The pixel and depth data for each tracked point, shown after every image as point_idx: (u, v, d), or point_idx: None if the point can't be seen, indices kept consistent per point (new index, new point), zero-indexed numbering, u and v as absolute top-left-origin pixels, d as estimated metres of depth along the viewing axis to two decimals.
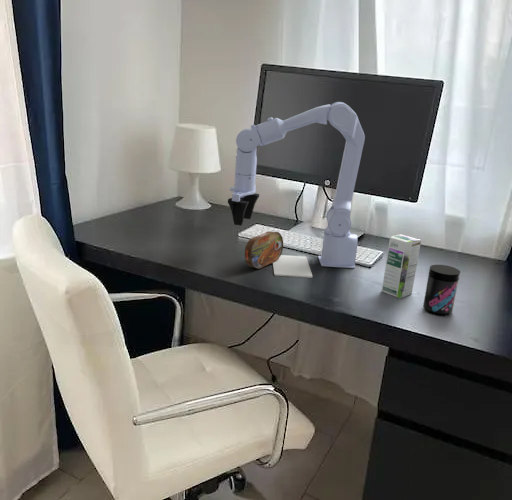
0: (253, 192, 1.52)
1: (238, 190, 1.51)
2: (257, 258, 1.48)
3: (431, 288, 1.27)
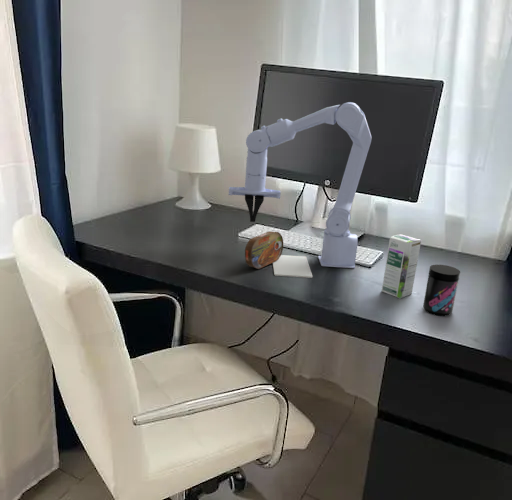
0: (251, 192, 1.54)
1: None
2: (257, 258, 1.48)
3: (431, 288, 1.27)
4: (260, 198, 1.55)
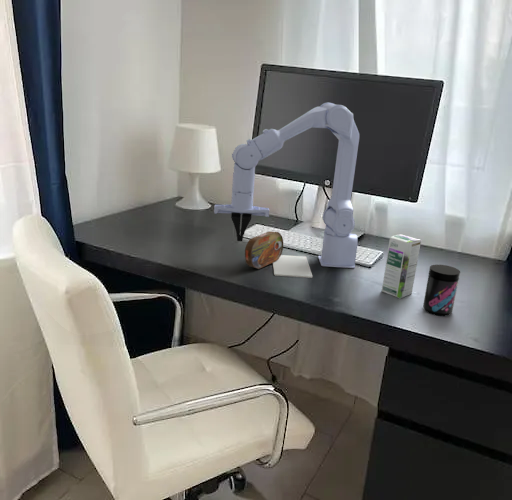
0: (238, 210, 1.45)
1: None
2: (257, 258, 1.48)
3: (431, 288, 1.27)
4: (247, 216, 1.46)
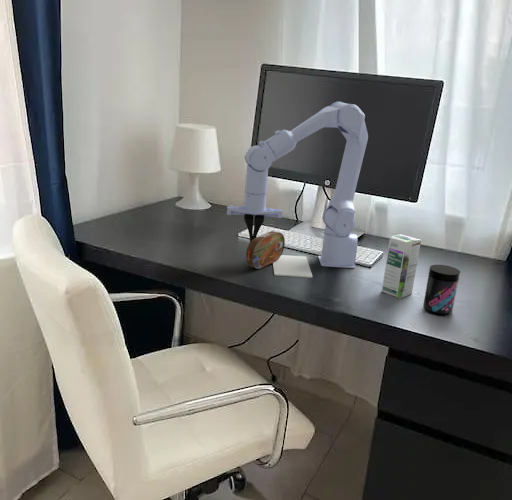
0: (251, 212, 1.45)
1: None
2: (258, 259, 1.47)
3: (431, 288, 1.27)
4: (260, 218, 1.47)
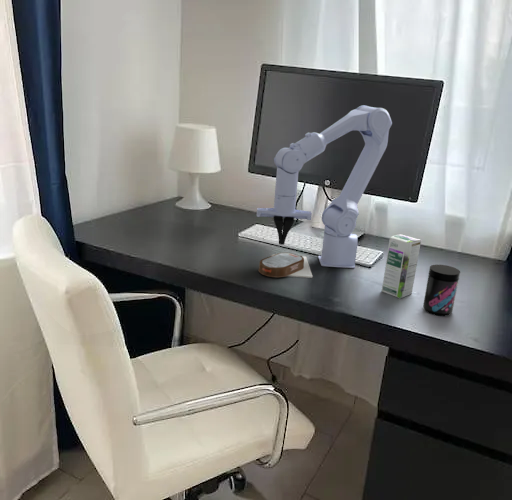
0: (281, 214, 1.45)
1: None
2: None
3: (431, 288, 1.27)
4: (290, 220, 1.47)
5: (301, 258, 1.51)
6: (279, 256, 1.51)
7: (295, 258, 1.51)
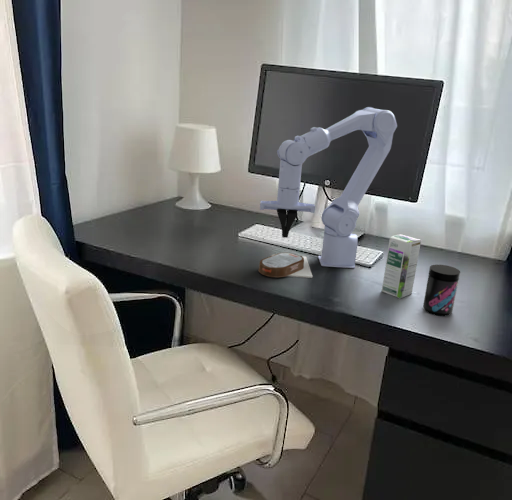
0: (285, 207, 1.45)
1: None
2: None
3: (431, 288, 1.27)
4: (293, 213, 1.46)
5: (301, 258, 1.51)
6: (279, 256, 1.51)
7: (295, 258, 1.51)
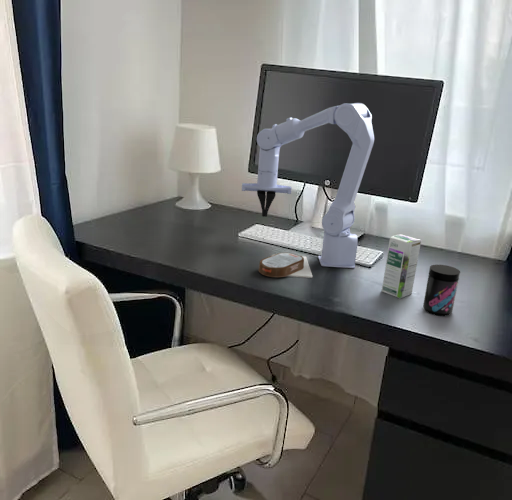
0: (264, 188, 1.60)
1: None
2: None
3: (431, 288, 1.27)
4: (272, 194, 1.62)
5: (301, 258, 1.51)
6: (279, 256, 1.51)
7: (295, 258, 1.51)
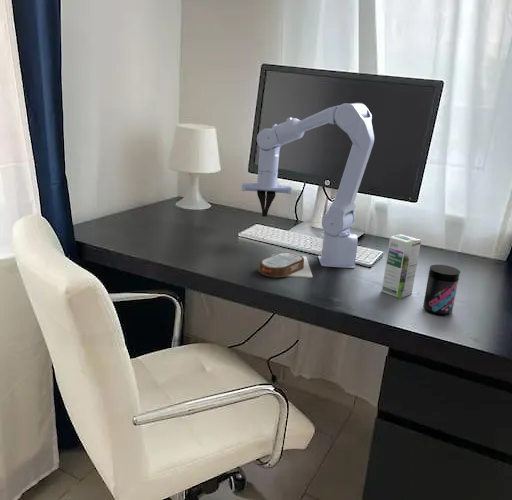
0: (264, 188, 1.60)
1: None
2: None
3: (431, 288, 1.27)
4: (272, 194, 1.62)
5: (301, 258, 1.51)
6: (279, 256, 1.51)
7: (295, 258, 1.51)
